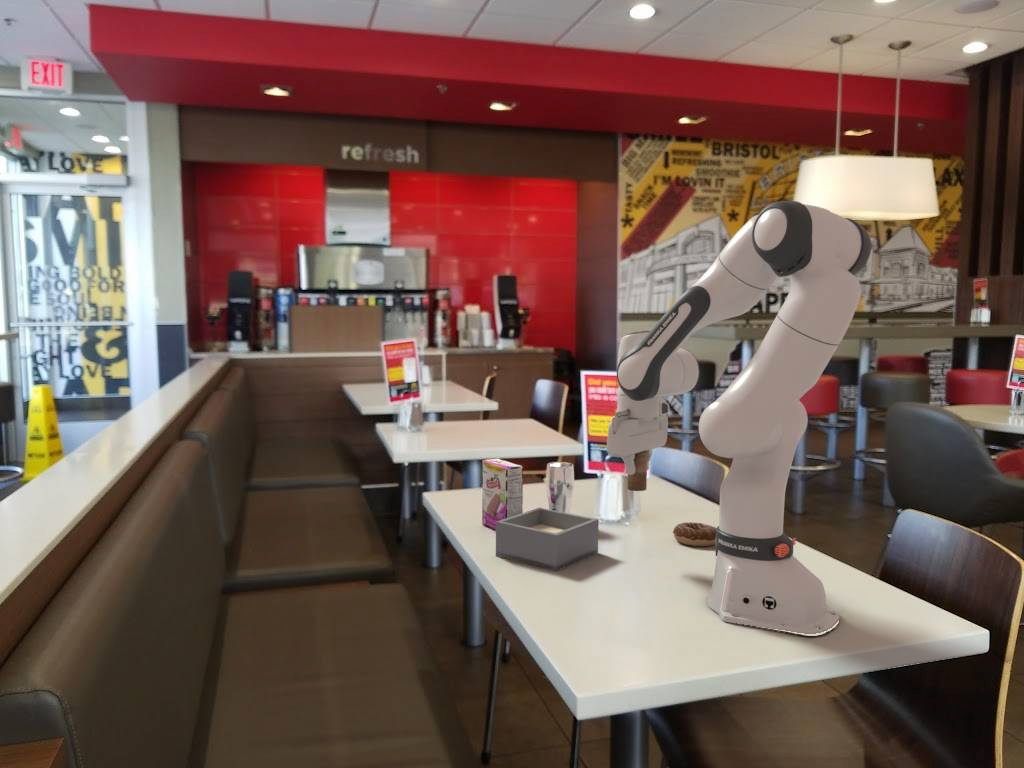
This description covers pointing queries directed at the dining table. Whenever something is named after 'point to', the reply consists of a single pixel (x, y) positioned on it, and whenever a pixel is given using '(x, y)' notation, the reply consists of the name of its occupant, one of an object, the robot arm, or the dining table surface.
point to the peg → (639, 473)
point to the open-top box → (547, 538)
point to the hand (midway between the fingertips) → (637, 472)
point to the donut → (695, 534)
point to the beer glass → (560, 486)
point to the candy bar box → (501, 491)
